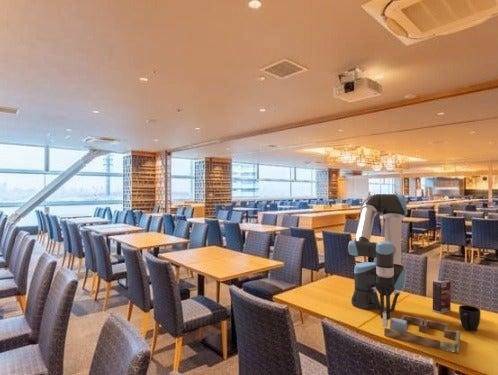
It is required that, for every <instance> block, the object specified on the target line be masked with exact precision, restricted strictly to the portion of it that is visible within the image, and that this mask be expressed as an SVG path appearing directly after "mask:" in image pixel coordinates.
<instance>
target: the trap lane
mask: <svg viewBox="0 0 498 375" xmlns="http://www.w3.org/2000/svg"><path fill="white" fill-rule="evenodd" d="M393 318H394V317H390V321H391V320H392V319H393ZM400 319H401V320H406V321H407V324H412V325H415V326H416V325H417V326H418V332H421V333H425V334H427V332H428V329H429V328H430V329H434V330H439V331H444V332H443V333H444V335H443V337H444V338H447V339H451V340H455V341H454V343H451V342H448V341H443V340H439V339H434V338H430V337H426V336H422V335H418V334H417V335H416V334H413V333H408V332H407V333H405V332H401V331H396V330H392V329H390V328H387V327H384V328H383V329H384V330H383V332H384V336H385V337H390V338H394V339H397V340H401V341H404V342H408V343H409V342H410V343H412V344H413V343H414V344H417V345H422V346H426V347H430V348H433V349H437V348H438V349H437V350H441V349H443V350H442V351H445V350H448V351H447V352H449V351H454V352H457V353H460V343H461V342H460V341H461V331H460V330H456V331H455V330H450V324H449V323H445V322H439V321H435V320H432V319H431V320H430V319H424V318H421V317H415V316H410V315H405V314H402V316H401V317H400ZM457 353H456V354H457Z"/></svg>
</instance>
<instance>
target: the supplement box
mask: <svg viewBox="0 0 498 375" xmlns="http://www.w3.org/2000/svg"><path fill="white" fill-rule="evenodd" d="M451 286H452V285H451V281H450V280H446V279H439V280H433V281H432V312H435V313H438V314H444V313H448V312H451V310H452V309H451V308H452V306H451V302H452V300H451V294H452V292H451V289H452V288H451Z"/></svg>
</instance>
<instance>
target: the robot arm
mask: <svg viewBox="0 0 498 375" xmlns="http://www.w3.org/2000/svg"><path fill="white" fill-rule="evenodd" d="M359 213H360V216H359V219H358V223H357V224H358V225H357V228H356V233H355V236H354V237H355V238H354V240H349V242H348V246H347V250H348V254H349V255H351V256H354V257H363V258H364V257H367V258H375V259H376V262H373V261H371V262H370V261H365V262H359V263H356V264H355V265H354V271H353V273H354V274H353V275H354V278H353V279H354V281H353V282H354V291H353V294H352V296H351V300H350V301H351V305H352V306H354V307H356V308H358V309H363V310H378V311H380V318H381V319H382V327H383V328H387V327H388V323H389V322H388V321H389V320H391V314H392V313H394V311H395V310H396V306H397V301H398V297H399V296H400V295H401V292H402V291H403V290H404V289H405V286H406V282H407V281H406V280H407V275H408V274H407V273H408V270H407V269H406V268H405V265H404V264H403V263H402V225H403V224H402V222H403V219H405V216H406V215H408V207H407V199H406V196H405V195H404V194H400V193H399V194H398V193H390V194H389V193H375V194H372V195H370V196H369V197H367V198H365V199H364V200H363V202H362V203H361V204H360V208H359ZM377 214H378V215H379V214H380V215H381V214H382V218H383V219H385V220H384V222H385V223H384V241H377V242H375V241H373V242H372V241H371V238H372V236H371V235H372V232H373V228H374V222H375V217H376V216H377ZM377 292H378V293H377ZM378 294H379V296H378ZM392 294H393V295H394V297H393V298H392V303H391V295H392ZM379 297H380V298H379Z"/></svg>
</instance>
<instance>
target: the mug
mask: <svg viewBox="0 0 498 375" xmlns="http://www.w3.org/2000/svg"><path fill="white" fill-rule="evenodd" d="M458 314H459V320H460V323H461V327H462V329H463V330H465V331H469V332H477V331H478V328H479V326H480V323H481V322H480V321H481V310H480V308H478V307H476V306H473V305H467V304H466V305H465V304H462V305H459V306H458Z"/></svg>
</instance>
